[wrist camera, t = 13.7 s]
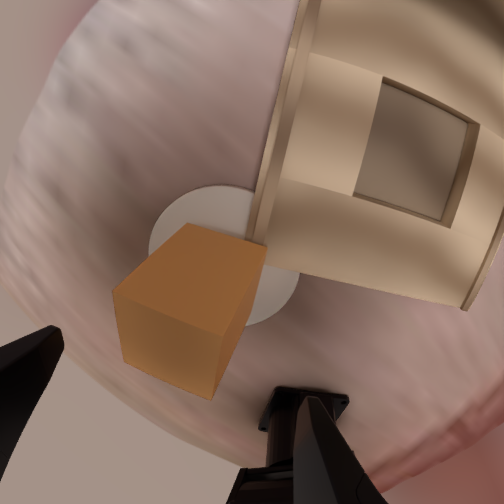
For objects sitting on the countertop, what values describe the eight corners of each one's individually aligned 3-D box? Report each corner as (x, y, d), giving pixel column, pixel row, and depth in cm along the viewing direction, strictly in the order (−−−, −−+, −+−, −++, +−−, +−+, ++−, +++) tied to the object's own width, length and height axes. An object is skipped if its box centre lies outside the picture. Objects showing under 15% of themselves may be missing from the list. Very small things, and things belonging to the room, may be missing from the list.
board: (459, 298, 18) (470, 312, 16) (243, 248, 18) (239, 261, 16) (520, -15, 7) (532, -20, 5) (329, -111, 7) (331, -124, 5)
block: (251, 312, 18) (211, 400, 12) (181, 287, 18) (124, 361, 13) (267, 247, 15) (222, 336, 10) (187, 222, 16) (112, 290, 10)
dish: (277, 332, 20) (277, 340, 19) (150, 301, 20) (145, 307, 19) (318, 205, 16) (320, 209, 15) (161, 171, 16) (155, 173, 15)
